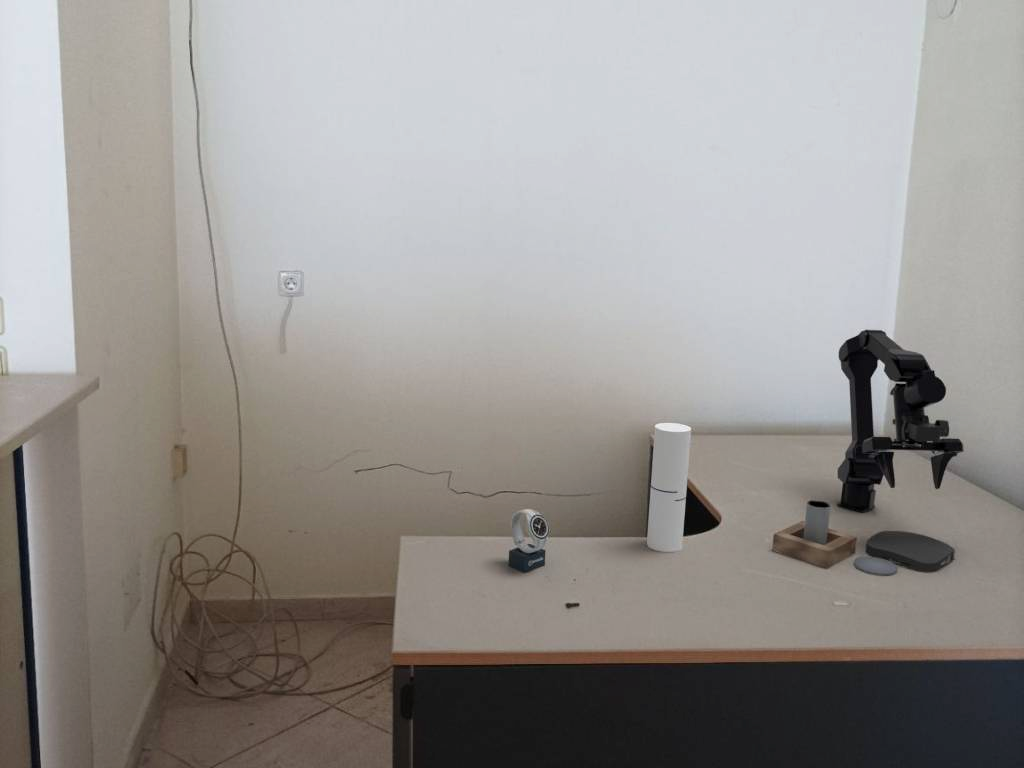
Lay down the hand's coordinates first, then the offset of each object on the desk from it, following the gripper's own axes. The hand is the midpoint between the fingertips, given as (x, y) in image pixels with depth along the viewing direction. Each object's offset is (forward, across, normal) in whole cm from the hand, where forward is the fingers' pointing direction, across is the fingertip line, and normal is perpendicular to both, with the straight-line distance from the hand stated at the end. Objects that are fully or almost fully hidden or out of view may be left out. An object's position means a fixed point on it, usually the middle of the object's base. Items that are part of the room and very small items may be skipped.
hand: (915, 488), depth 188 cm
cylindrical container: (+12, -50, +6) cm, 52 cm away
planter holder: (+13, -20, +5) cm, 24 cm away
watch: (+17, -79, -5) cm, 81 cm away
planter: (+13, -20, +5) cm, 24 cm away
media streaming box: (+14, 0, +4) cm, 14 cm away
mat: (+16, -10, -2) cm, 19 cm away
